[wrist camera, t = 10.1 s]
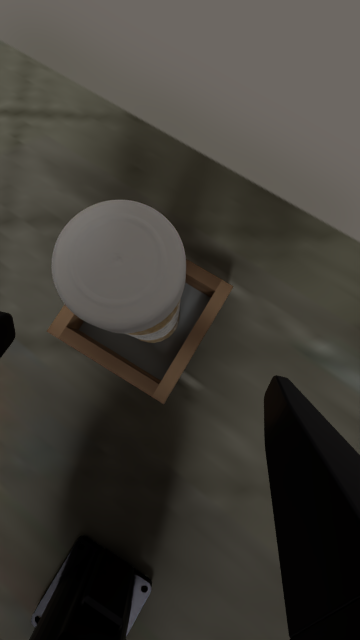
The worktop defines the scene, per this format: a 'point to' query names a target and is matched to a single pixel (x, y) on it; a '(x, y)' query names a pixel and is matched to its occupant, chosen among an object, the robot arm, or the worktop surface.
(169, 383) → the square wooden tray
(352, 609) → the robot arm
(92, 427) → the worktop surface
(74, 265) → the sprinkles bottle
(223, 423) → the worktop surface
